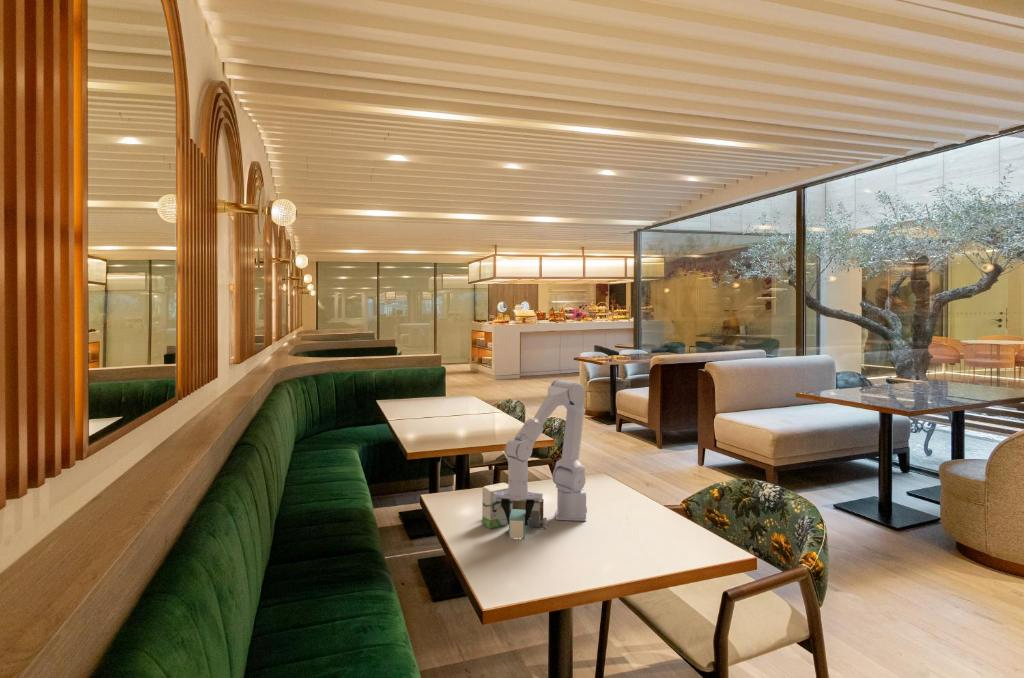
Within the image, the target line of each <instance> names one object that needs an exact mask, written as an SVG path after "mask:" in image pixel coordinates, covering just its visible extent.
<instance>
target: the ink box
mask: <svg viewBox="0 0 1024 678" xmlns="http://www.w3.org/2000/svg"><path fill="white" fill-rule="evenodd" d="M505 491H508V483H506V482H500V483H494V484H490V485H485V486H483V487H482V502H481V503H482V505H481V506H482V509H481V510H482V512H481V513H482V517H481V519H482V522H481V523H482V525H483V526H485V527H487V528H489V529H495V528H498V527H501V525H503V526H505V525H506V524H507V525H508V522H507V518H506V515H505V512H504V510H503V508H502V506H501V500H493V494H494V492H505ZM512 509H513V500H511V504H510V513H511V510H512ZM497 526H498V527H497Z"/></svg>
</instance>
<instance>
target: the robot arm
mask: <svg viewBox="0 0 1024 678" xmlns="http://www.w3.org/2000/svg"><path fill="white" fill-rule="evenodd" d="M585 398H586V388H585V387H584V385H582V383H581V382H578V381H570V380H563V379H559V378H556V379H554V380H553V381H552V382H551V384H550V385H549V386H548V388H547V394H546V396H545V398H544V400H543V402H542V403H541V405H540V406H539V408H538V410H537V411H536V413H535V415H534V416H533V417H531V418H528V419H526V420H524V423H523V425H522V427H521V428H520V429H519V431H518V432H517V433H516V435H514V437H512V438H511V439H509V440H508V441H507V442H506V444H505V448H503V452H504V454H505V456H506V457H507V459H506V460H507V465H508V471H507V472H508V473H507V474H508V475H507V477H508V483H507V484H508V491H505V492H494V494H493V500H501V506H502V508H503V510H504V512H505V515H506V518H507V522H508V524H507V526H509V517H510V504H511V500H514V501H526V504H525V507H526V518H525V526H526V527H527V526H528V524H529V520H530V518H529V516H530V513H531V510H532V508H533V506H534V502H535V501H539V502H542V499H544V497H543V493H538V492H532V491H531V492H530V491H528V485H529V484H528V483H529V482H528V481H529V480H528V479H529V478H528V475H529V474H528V472H529V470H528V469H529V468H528V465H529V464H528V463H529V462H528V461H529V458H530V457H531V456H532V454H533V449H534V446H535V445H534V444H535V443H536V441H537V440H538V438H539V437H540V436H541V434H542V433H543V431H544V423H545V422H546V421H547V420H549V417H550V416H551V415H552V414H553V413H554V411H555V410H556V409H557V408H558V407H559V406H563V407H565V410H566V416H565V426H564V436H563V443H562V453H561V458H559V460H557V461H556V462H555V468H554V469H553V471H552V475H551V476H552V482H553V483H554V484H555V488H556V489H557V493H556V494H557V496H556V497H557V502H556V503H557V509H556V510H555V520H556V521H575V522H576V521H578V522H586V521H587V513H588V507H587V489H583V488H584V487H585V485H586V480H587V479H586V474H585V470H586V468H585V466H584V465H583V464H582V462H581V460H580V454H581V453H580V452H581V443H582V442H581V441H582V433H583V425H584V416H585V408H586V407H585V405H586V403H585Z"/></svg>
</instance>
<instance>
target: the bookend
mask: <svg viewBox="0 0 1024 678" xmlns="http://www.w3.org/2000/svg"><path fill="white" fill-rule="evenodd" d="M530 526H531V527H530V529H533V528H545V529H544V530H546V528H547V517H543V518H540V502H534V506H533V508H532V510H531V518H530Z"/></svg>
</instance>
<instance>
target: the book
mask: <svg viewBox="0 0 1024 678" xmlns="http://www.w3.org/2000/svg"><path fill="white" fill-rule="evenodd" d="M525 518H526V510H523V509H512V510H511V513H510V517H509V525H508V539H509V538H518V539H517V540H525V539H524V538H525V537H526V533H525V532H527V526H525ZM519 538H521V539H519Z"/></svg>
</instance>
